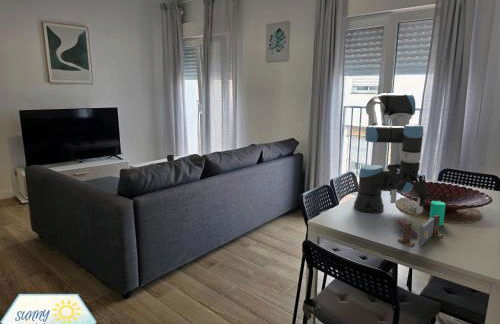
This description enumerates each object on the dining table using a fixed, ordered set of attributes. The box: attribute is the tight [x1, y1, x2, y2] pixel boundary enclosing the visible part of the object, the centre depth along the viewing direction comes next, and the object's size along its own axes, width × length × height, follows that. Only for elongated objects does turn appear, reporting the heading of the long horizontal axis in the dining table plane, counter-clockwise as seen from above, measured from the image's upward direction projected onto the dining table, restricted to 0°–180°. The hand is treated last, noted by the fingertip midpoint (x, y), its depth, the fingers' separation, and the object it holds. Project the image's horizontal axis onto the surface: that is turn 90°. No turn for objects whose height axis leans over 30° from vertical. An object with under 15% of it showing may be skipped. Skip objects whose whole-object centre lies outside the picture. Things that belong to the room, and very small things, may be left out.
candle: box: [428, 200, 447, 227], centre depth 159 cm, size 6×6×12 cm
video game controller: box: [397, 218, 418, 238], centre depth 150 cm, size 10×5×7 cm, turn 0°
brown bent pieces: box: [397, 215, 444, 248], centre depth 143 cm, size 6×21×9 cm, turn 116°
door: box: [418, 217, 435, 247], centre depth 141 cm, size 2×14×8 cm, turn 135°
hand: (405, 207), depth 148 cm, fingers open, 13 cm apart
